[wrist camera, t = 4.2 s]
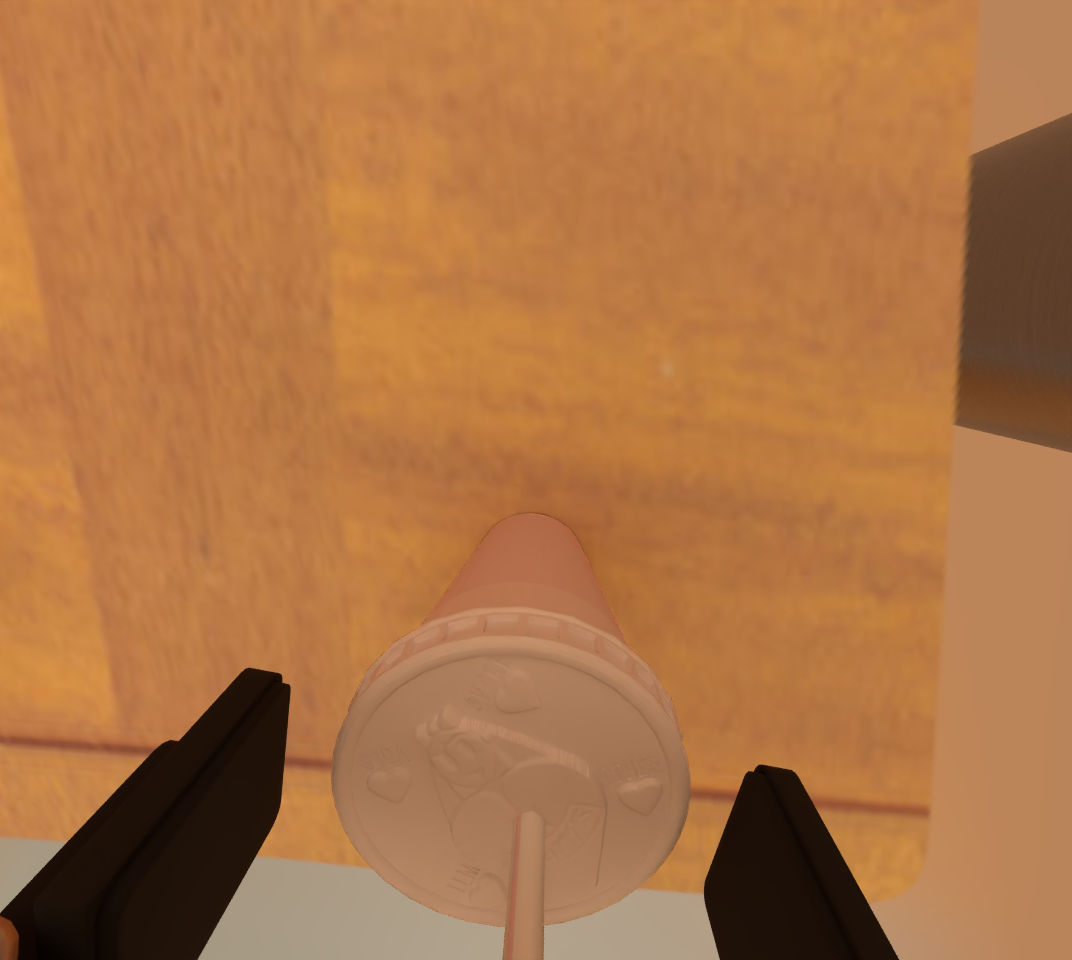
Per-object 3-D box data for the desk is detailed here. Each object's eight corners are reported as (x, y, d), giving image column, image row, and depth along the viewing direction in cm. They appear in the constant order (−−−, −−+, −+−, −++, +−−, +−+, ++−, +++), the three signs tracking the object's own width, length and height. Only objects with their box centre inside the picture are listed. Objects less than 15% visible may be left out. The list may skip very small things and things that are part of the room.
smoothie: (521, 675, 20) (453, 1411, 6) (400, 551, 19) (2, 1134, 5) (661, 574, 19) (949, 1225, 5) (541, 434, 17) (502, 801, 4)
